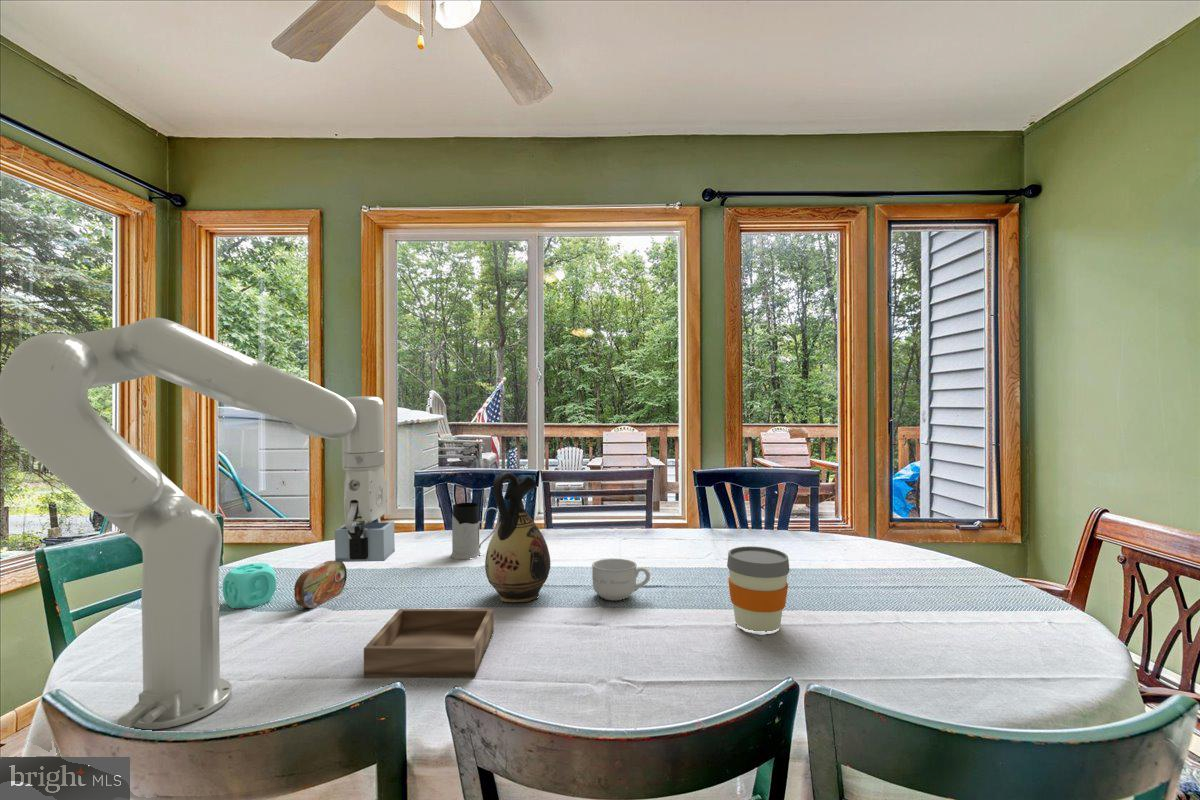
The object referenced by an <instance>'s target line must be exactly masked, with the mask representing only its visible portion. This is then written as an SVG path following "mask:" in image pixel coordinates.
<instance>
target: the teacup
mask: <svg viewBox="0 0 1200 800" xmlns="http://www.w3.org/2000/svg"><path fill="white" fill-rule="evenodd" d="M637 566H638V564H637V563H636V561H632V560H630V559H626V558H625V559H624V558H605V559H603V558H602V559H598V560H596V561H593V562H592V564H591V567H592V587H593V590H594V592H595V593H596V594H597V595H598V596H600V597H601V599H603V598H604V600H606V601H607V600H608V601H623V600H626V599H628V598H629V597H630V596H631V595H632V594H634V592H637V591H638V590H639V589H640V588H641V587H644V586H645V585H647V583H648V582H649V581H650V579H651V573H650V571H649V569H648V568H647V567H645V566H639V567H637ZM640 572H643V573H644V574H645V579H644V580H642V581H640V582H638V583H637V577H638V576H639V573H640ZM625 598H626V599H625ZM622 599H623V600H622Z"/></svg>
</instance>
